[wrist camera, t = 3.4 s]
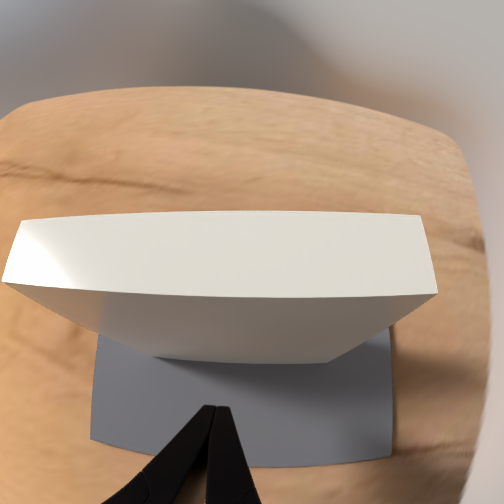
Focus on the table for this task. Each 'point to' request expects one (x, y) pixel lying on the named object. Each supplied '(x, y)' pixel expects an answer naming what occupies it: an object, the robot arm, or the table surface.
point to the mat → (250, 403)
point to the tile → (228, 280)
